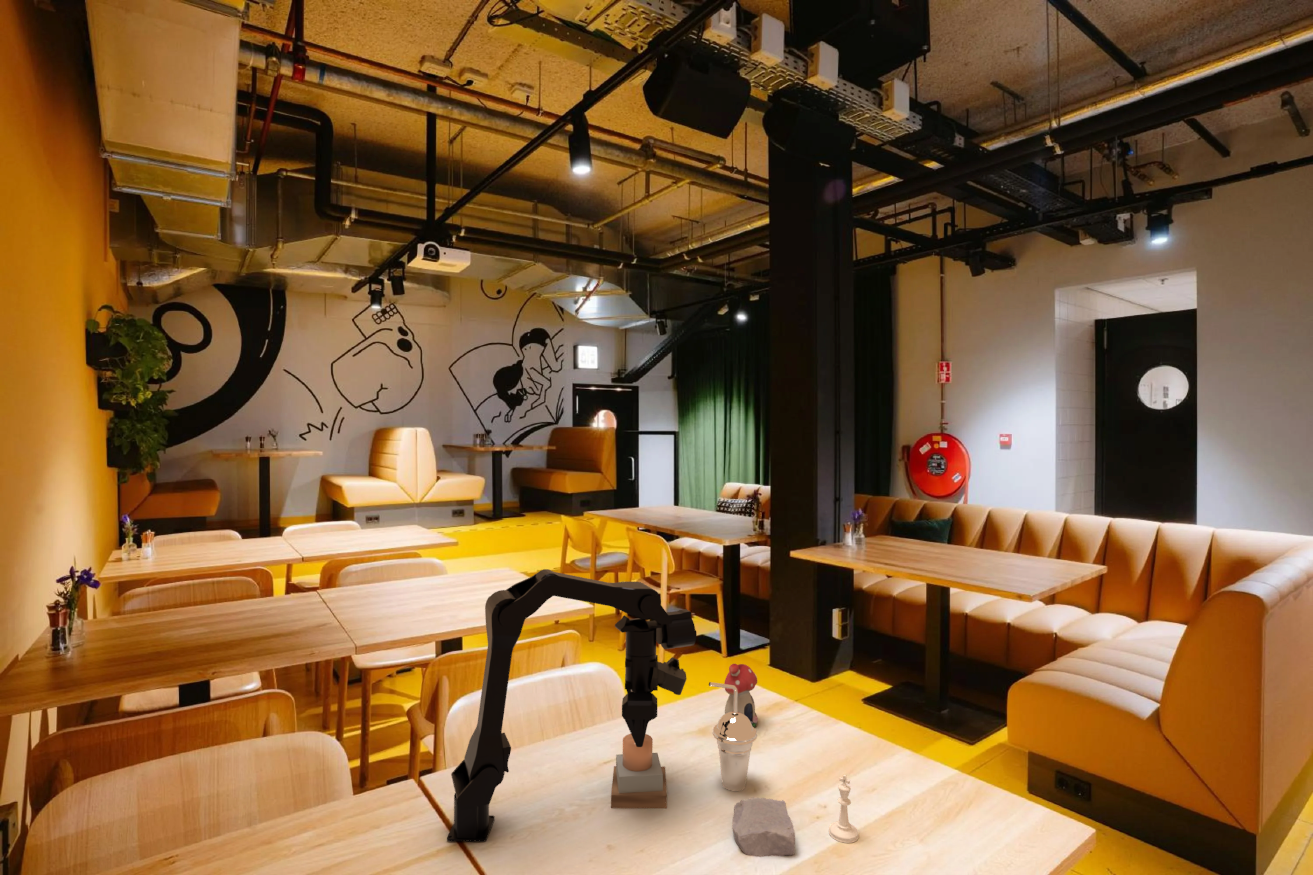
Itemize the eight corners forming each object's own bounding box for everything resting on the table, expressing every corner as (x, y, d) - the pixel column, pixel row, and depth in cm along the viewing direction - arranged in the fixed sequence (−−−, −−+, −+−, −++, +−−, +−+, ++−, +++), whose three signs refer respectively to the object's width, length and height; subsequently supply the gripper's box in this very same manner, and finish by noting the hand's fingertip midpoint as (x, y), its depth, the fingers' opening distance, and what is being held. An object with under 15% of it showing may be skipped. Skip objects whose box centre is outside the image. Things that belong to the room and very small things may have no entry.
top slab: (662, 790, 120) (662, 774, 120) (618, 793, 119) (619, 776, 119) (657, 767, 128) (657, 752, 128) (615, 769, 127) (616, 754, 127)
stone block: (739, 868, 105) (801, 857, 105) (734, 838, 105) (795, 827, 105) (731, 826, 117) (786, 815, 117) (726, 799, 117) (781, 789, 117)
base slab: (666, 811, 118) (666, 795, 118) (610, 811, 118) (611, 794, 118) (665, 781, 128) (665, 766, 128) (613, 781, 128) (613, 765, 128)
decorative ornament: (732, 735, 146) (733, 668, 146) (715, 723, 152) (716, 659, 152) (764, 725, 151) (766, 661, 151) (746, 715, 157) (747, 652, 156)
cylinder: (653, 771, 121) (653, 746, 121) (622, 771, 120) (622, 747, 120) (651, 755, 126) (651, 732, 126) (622, 755, 126) (622, 732, 126)
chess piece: (835, 821, 115) (837, 764, 115) (863, 832, 112) (864, 774, 112) (823, 834, 111) (824, 776, 111) (851, 846, 108) (852, 786, 108)
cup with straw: (751, 800, 121) (753, 692, 120) (704, 791, 124) (705, 685, 123) (759, 777, 129) (761, 676, 128) (714, 769, 132) (716, 670, 131)
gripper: (686, 670, 113) (685, 760, 114) (681, 635, 132) (680, 712, 132) (622, 670, 113) (621, 759, 114) (626, 635, 132) (625, 712, 132)
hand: (640, 734), depth 123 cm, fingers open, 9 cm apart
